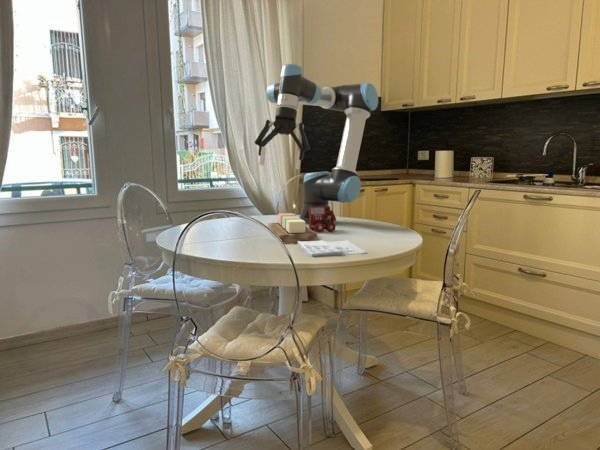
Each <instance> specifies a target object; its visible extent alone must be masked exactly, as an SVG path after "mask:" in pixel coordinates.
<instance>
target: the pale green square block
mask: <svg viewBox="0 0 600 450" xmlns="http://www.w3.org/2000/svg"><path fill="white" fill-rule="evenodd" d="M299 217H300V216H297V215H296V216H282V227H283V228H284V229H286V220H291V219H300V218H299Z"/></svg>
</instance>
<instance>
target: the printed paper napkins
mask: <svg viewBox="0 0 600 450" xmlns="http://www.w3.org/2000/svg"><path fill="white" fill-rule="evenodd" d="M297 245H298V246H299V247H300V248H301V249H302V250H303V251H305V252H306V253H307V254H308V255H309V256H311V257H330V256H346V255H347V256H351V255H367V254H368V251H367V250H364V249H362V248H361V247H359V246H357V244H354V243H353V242H351V241H350V240H348V239H347V240H341V241H326V240H324V239H321V240H317V241H303V242H300V241H298V243H297Z"/></svg>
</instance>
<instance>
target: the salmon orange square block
mask: <svg viewBox="0 0 600 450" xmlns="http://www.w3.org/2000/svg"><path fill="white" fill-rule="evenodd" d="M282 216H297V215H296V214H295V213H294V212H293V213H292V212H291V213H290V212H289V213H288V212H287V213H284V212H283V213H278V216H277V217H278V221H277V222H278V223H279V224H280V225H281V226H282Z"/></svg>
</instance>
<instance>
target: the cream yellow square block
mask: <svg viewBox="0 0 600 450" xmlns="http://www.w3.org/2000/svg"><path fill="white" fill-rule="evenodd" d="M305 225H306V224H305V221H304V220H302V219H291V220H286V231H288V232H289V233H305Z"/></svg>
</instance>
